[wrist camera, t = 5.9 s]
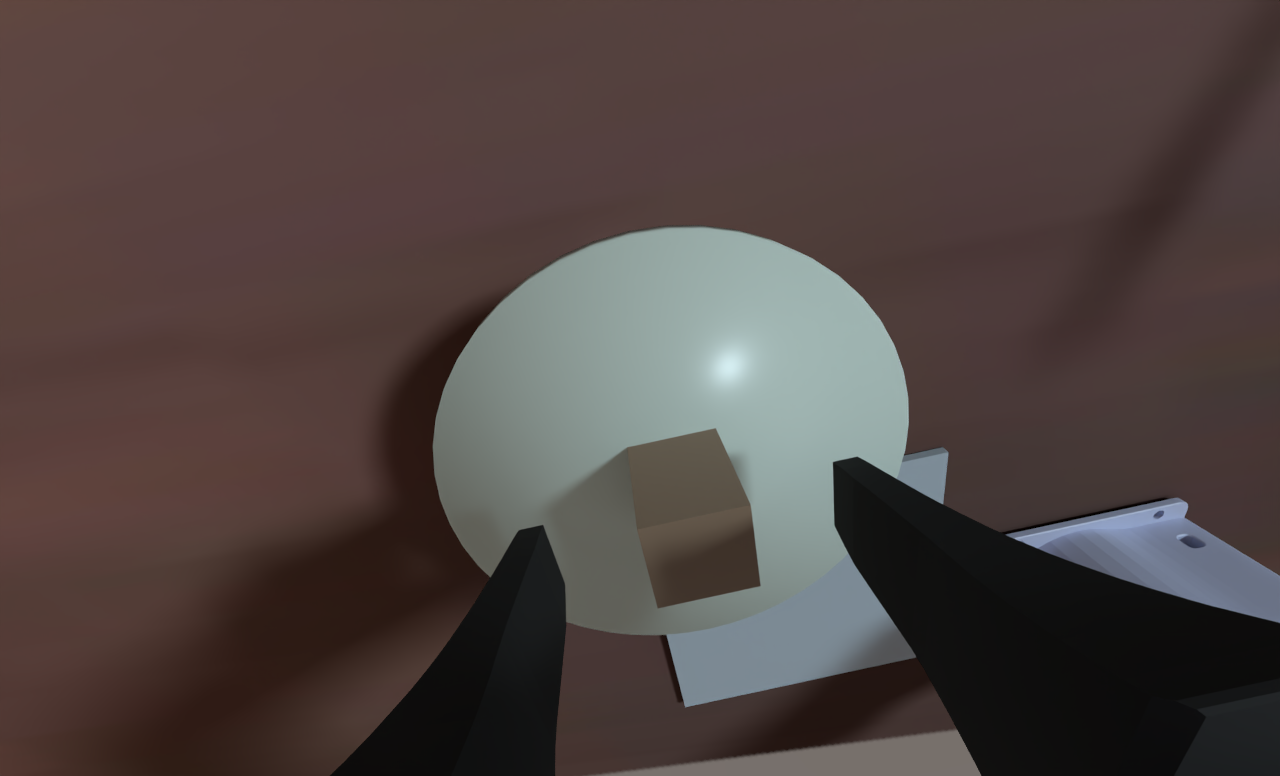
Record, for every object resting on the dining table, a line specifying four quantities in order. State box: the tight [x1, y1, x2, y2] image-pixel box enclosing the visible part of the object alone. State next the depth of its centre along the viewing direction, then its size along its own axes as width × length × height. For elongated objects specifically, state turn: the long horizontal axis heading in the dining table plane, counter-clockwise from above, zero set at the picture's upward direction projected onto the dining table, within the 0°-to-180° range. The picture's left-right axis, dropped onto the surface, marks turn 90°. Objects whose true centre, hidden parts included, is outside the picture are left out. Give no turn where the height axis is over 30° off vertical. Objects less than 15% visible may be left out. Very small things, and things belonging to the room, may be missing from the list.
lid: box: [433, 225, 909, 635], centre depth 13 cm, size 14×14×4 cm
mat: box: [667, 447, 948, 707], centre depth 25 cm, size 14×14×1 cm
